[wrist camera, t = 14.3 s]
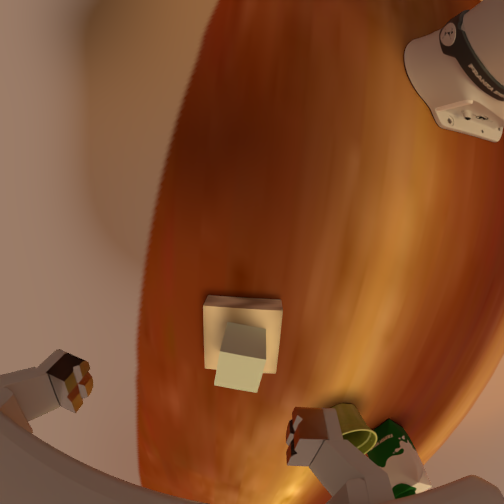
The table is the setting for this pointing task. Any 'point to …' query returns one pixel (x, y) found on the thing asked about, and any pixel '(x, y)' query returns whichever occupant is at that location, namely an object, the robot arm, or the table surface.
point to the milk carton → (399, 460)
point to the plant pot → (355, 428)
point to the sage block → (241, 357)
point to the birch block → (244, 313)
